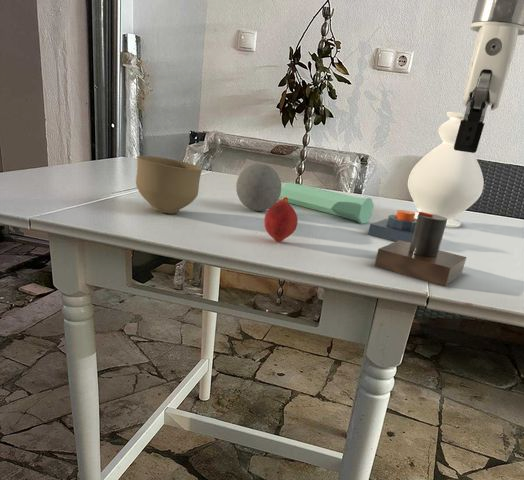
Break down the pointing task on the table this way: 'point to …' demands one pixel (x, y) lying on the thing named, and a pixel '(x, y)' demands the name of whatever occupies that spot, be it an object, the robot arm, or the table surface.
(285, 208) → the onion
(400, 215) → the button
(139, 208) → the table surface
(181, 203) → the bowl
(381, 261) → the brown rectangular block
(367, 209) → the green hexagonal prism
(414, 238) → the knob
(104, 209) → the table surface
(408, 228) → the button box
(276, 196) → the decorative ball
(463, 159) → the decorative vase
